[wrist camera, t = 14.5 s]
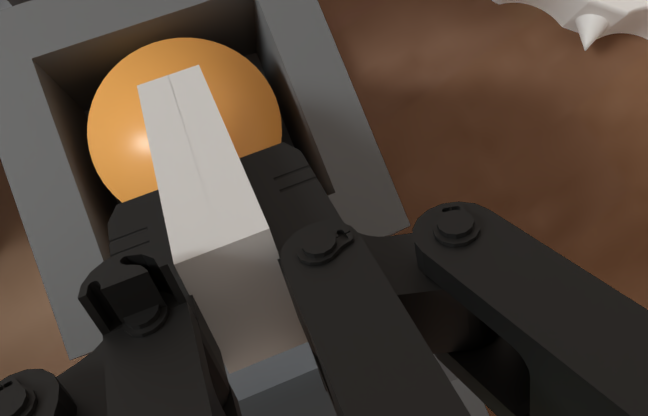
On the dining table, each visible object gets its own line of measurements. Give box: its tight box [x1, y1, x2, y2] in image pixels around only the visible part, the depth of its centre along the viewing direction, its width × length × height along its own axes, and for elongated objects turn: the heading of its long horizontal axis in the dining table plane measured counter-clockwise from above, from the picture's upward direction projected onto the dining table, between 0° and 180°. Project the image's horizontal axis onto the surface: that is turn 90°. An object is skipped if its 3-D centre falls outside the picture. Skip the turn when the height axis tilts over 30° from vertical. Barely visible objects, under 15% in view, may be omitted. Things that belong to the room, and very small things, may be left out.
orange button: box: [87, 38, 282, 203], centre depth 18 cm, size 5×5×4 cm
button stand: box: [0, 0, 489, 416], centre depth 23 cm, size 38×13×14 cm, turn 22°
